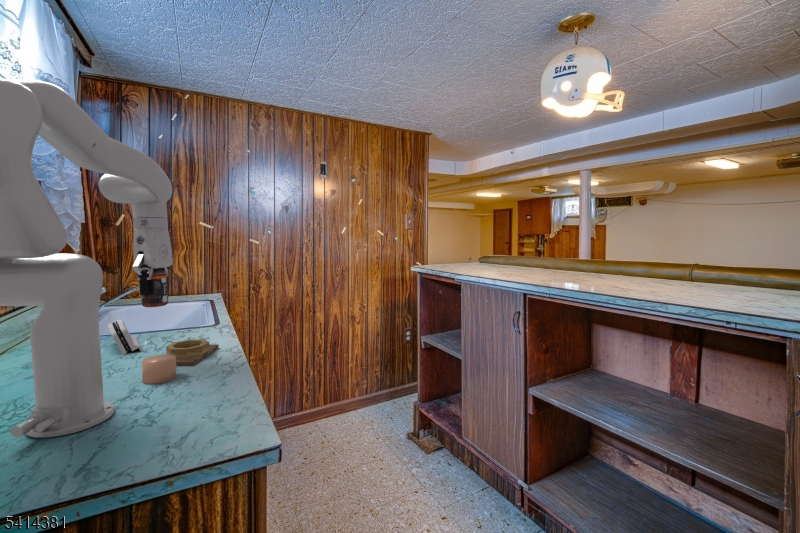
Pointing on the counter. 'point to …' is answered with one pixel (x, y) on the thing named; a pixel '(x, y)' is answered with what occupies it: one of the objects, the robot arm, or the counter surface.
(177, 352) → the holder plate
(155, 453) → the counter surface
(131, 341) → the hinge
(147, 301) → the supplement bottle
